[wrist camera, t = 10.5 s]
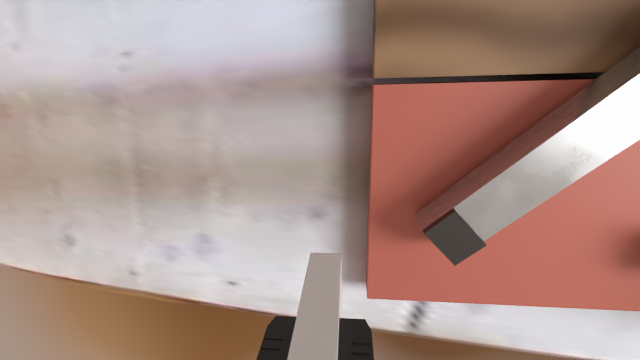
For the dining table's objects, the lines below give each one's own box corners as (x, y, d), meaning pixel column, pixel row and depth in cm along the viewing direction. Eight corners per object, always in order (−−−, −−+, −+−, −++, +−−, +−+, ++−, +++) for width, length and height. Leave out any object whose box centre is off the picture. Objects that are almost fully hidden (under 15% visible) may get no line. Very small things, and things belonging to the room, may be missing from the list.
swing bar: (740, -37, 19) (836, -64, 15) (773, 22, 20) (871, 9, 16) (412, 211, 27) (421, 232, 23) (444, 245, 28) (459, 272, 24)
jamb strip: (374, -13, 24) (377, -24, 22) (802, -38, 21) (864, -54, 18) (372, 78, 26) (374, 78, 24) (757, 67, 23) (807, 66, 21)
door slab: (371, 84, 26) (377, 86, 21) (754, 74, 23) (882, 73, 18) (366, 282, 34) (369, 324, 28) (659, 295, 31) (729, 344, 25)
